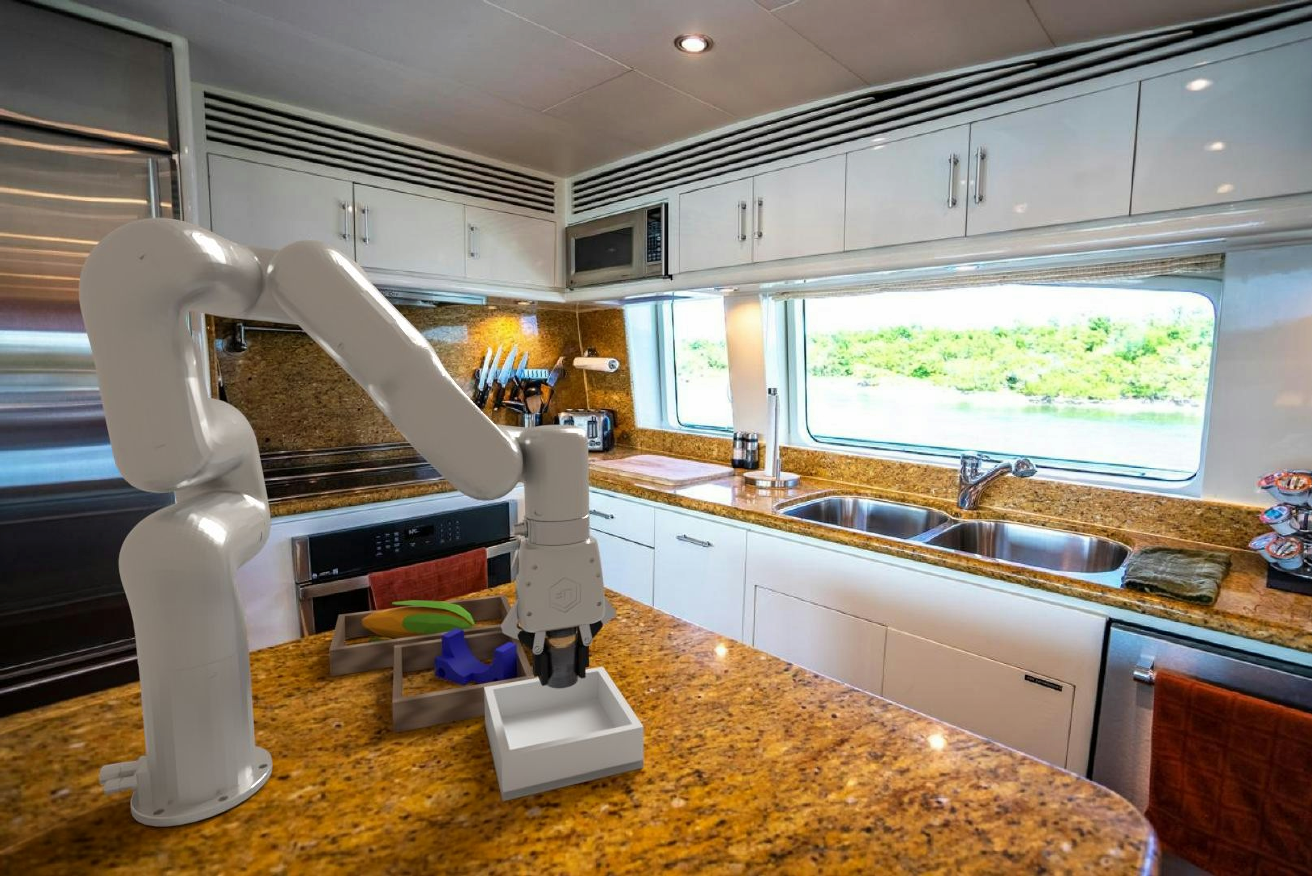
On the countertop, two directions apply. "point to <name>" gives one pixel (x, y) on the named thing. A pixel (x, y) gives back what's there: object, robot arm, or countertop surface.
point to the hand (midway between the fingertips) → (561, 675)
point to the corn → (417, 619)
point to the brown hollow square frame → (452, 701)
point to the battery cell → (562, 657)
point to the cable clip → (473, 662)
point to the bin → (560, 733)
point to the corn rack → (383, 651)
